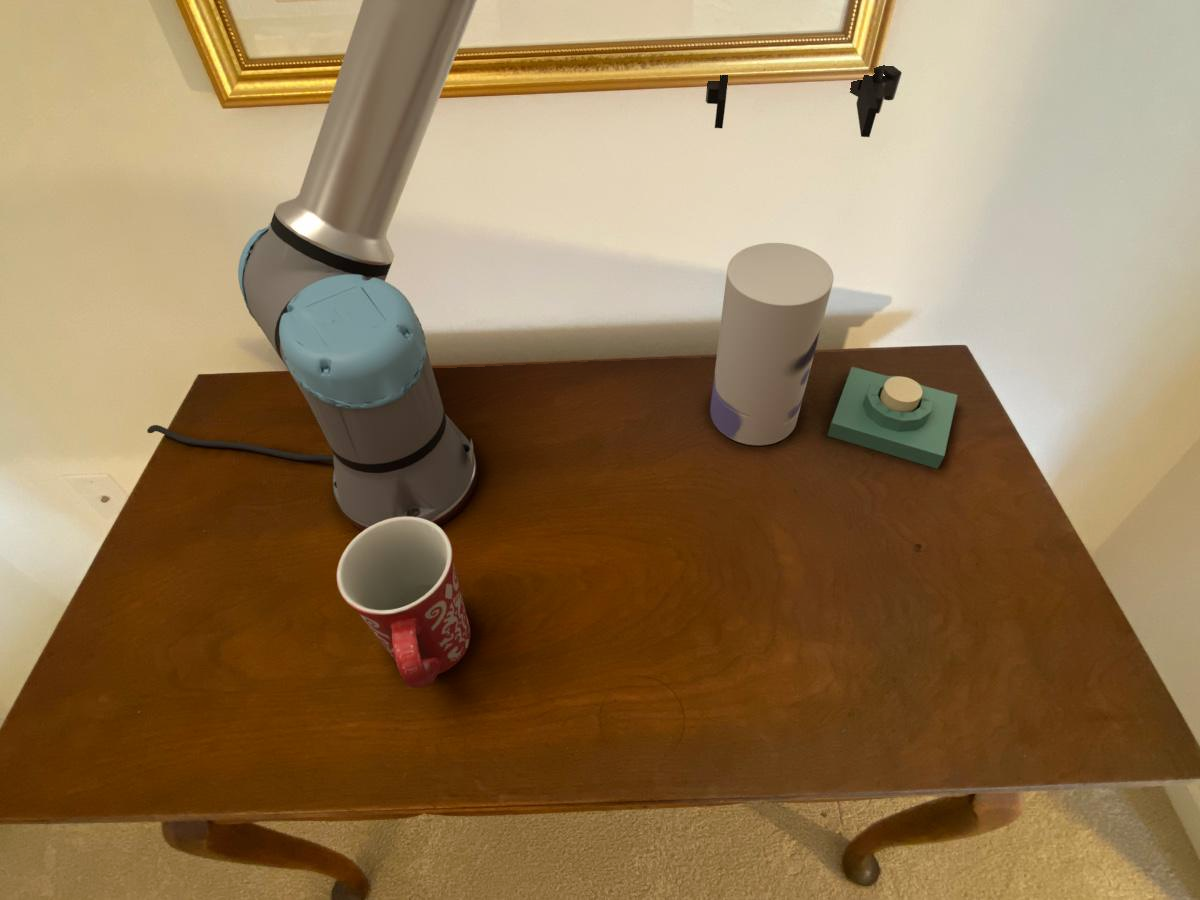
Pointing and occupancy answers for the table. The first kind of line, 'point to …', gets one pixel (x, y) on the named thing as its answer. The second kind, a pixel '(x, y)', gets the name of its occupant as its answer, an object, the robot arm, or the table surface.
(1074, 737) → the table surface
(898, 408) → the cream push button
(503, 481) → the table surface
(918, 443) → the green button base
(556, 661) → the table surface
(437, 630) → the mug
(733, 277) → the container
